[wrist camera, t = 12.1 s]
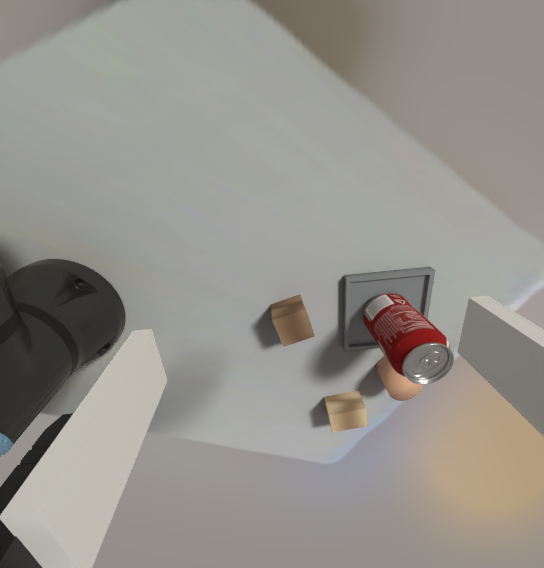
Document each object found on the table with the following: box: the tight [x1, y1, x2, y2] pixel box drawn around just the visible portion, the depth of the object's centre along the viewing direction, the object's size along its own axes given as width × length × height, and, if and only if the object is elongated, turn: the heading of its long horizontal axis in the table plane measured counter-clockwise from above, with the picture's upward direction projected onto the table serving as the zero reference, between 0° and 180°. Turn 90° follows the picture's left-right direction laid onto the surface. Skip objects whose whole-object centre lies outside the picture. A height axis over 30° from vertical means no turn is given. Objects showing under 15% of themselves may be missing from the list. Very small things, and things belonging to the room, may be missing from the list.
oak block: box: [324, 391, 368, 432], centre depth 48 cm, size 6×4×4 cm, turn 102°
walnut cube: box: [271, 295, 314, 347], centre depth 40 cm, size 4×4×4 cm
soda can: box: [363, 293, 454, 384], centre depth 37 cm, size 7×7×12 cm
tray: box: [343, 267, 435, 351], centre depth 42 cm, size 12×12×1 cm
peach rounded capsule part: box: [376, 356, 422, 401], centre depth 45 cm, size 5×5×5 cm
